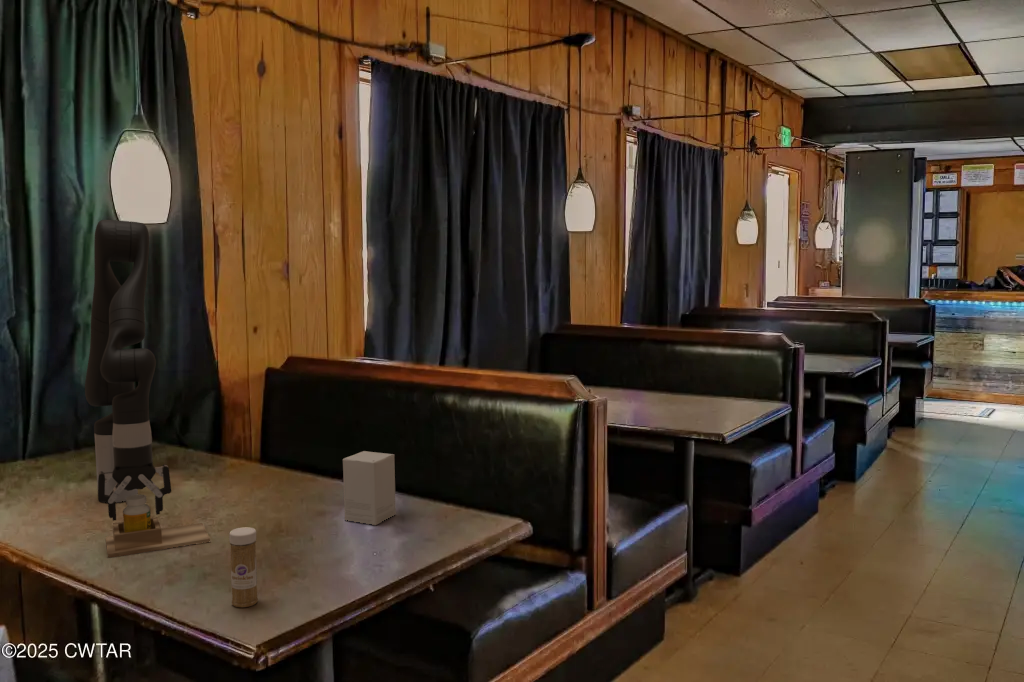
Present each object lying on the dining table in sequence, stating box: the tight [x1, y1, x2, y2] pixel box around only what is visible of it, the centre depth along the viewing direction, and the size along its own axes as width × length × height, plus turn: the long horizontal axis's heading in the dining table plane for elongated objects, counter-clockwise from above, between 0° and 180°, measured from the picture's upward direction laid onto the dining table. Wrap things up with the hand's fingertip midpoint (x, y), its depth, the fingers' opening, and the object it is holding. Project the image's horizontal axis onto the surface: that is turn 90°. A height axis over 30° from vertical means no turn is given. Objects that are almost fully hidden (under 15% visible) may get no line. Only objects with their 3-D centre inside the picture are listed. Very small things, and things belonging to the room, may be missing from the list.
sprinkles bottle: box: [228, 526, 259, 608], centre depth 152 cm, size 5×5×14 cm
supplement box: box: [342, 450, 397, 526], centre depth 199 cm, size 9×9×15 cm
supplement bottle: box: [122, 494, 152, 533], centre depth 182 cm, size 5×5×10 cm
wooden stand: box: [105, 516, 211, 559], centre depth 184 cm, size 12×20×4 cm, turn 117°
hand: (136, 516), depth 182 cm, fingers open, 8 cm apart
